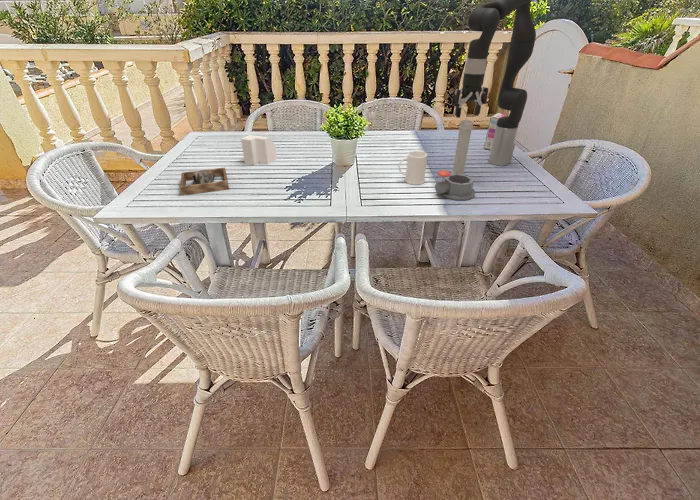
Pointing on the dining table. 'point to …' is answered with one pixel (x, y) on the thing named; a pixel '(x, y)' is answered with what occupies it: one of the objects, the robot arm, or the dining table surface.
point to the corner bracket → (258, 150)
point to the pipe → (462, 146)
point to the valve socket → (455, 186)
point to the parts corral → (205, 186)
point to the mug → (415, 167)
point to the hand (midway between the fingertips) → (466, 116)
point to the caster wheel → (203, 177)
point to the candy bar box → (492, 130)
